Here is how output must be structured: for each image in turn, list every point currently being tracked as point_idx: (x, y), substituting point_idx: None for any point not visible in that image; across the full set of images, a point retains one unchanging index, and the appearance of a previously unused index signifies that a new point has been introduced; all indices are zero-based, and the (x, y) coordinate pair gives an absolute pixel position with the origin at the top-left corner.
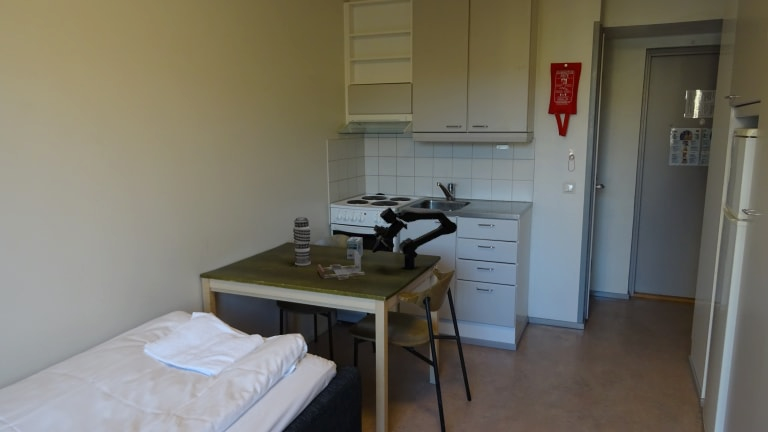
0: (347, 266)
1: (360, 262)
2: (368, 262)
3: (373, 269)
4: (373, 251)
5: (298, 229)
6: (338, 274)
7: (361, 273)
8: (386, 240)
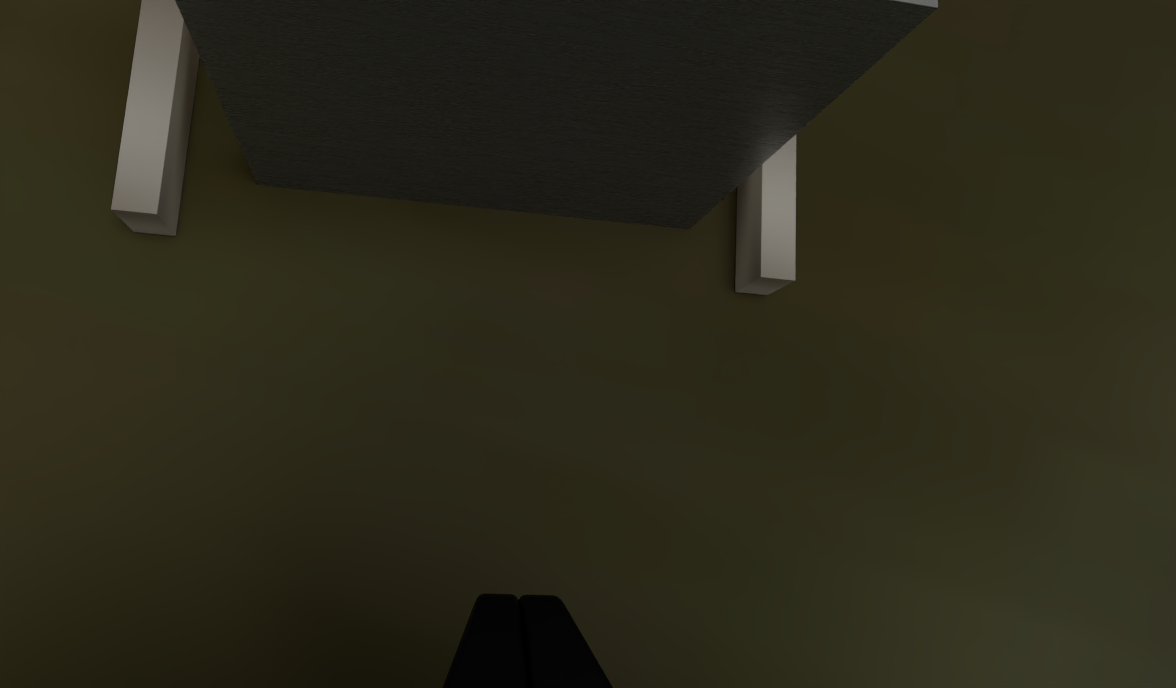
0: None
1: (197, 37)
2: (1123, 655)
3: None
4: (458, 647)
5: None
6: None
7: (130, 142)
8: None
